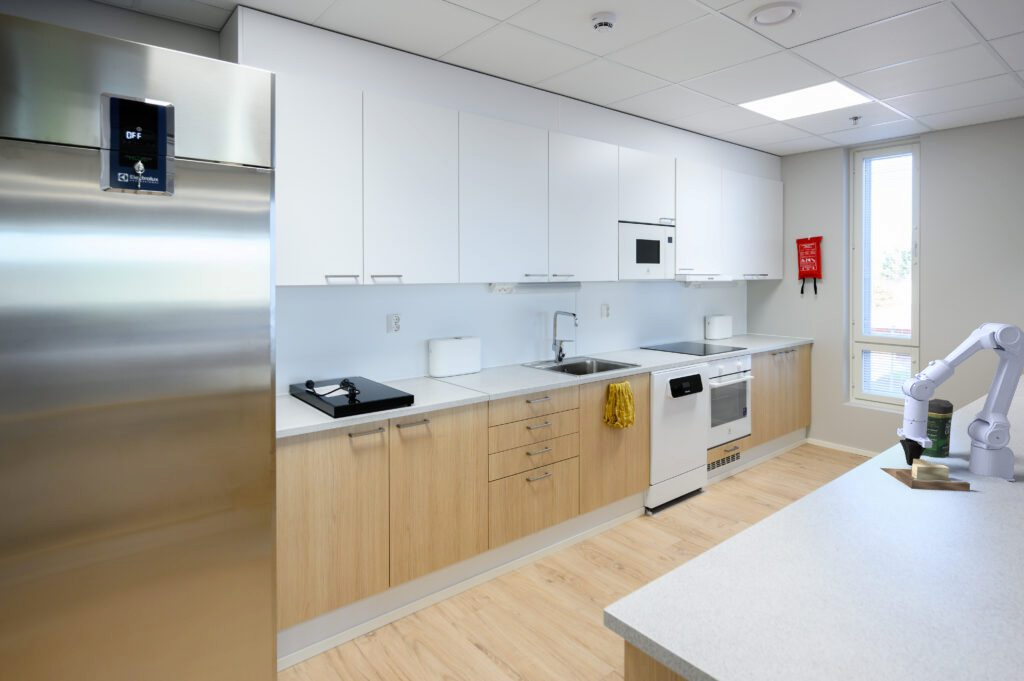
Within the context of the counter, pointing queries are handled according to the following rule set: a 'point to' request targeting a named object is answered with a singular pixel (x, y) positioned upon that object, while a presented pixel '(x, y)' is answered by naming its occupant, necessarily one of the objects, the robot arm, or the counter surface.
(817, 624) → the counter surface
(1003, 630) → the counter surface
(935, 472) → the t block
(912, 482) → the board
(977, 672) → the counter surface
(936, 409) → the coffee jar
